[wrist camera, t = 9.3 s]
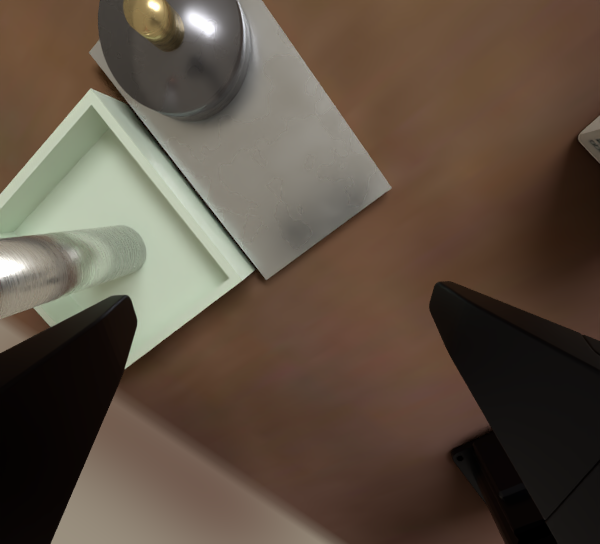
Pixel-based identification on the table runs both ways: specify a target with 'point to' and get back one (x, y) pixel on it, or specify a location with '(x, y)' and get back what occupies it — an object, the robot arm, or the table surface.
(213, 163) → the plate
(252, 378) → the table surface
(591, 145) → the container
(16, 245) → the glass spice jar
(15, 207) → the tray
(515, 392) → the robot arm
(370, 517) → the table surface
